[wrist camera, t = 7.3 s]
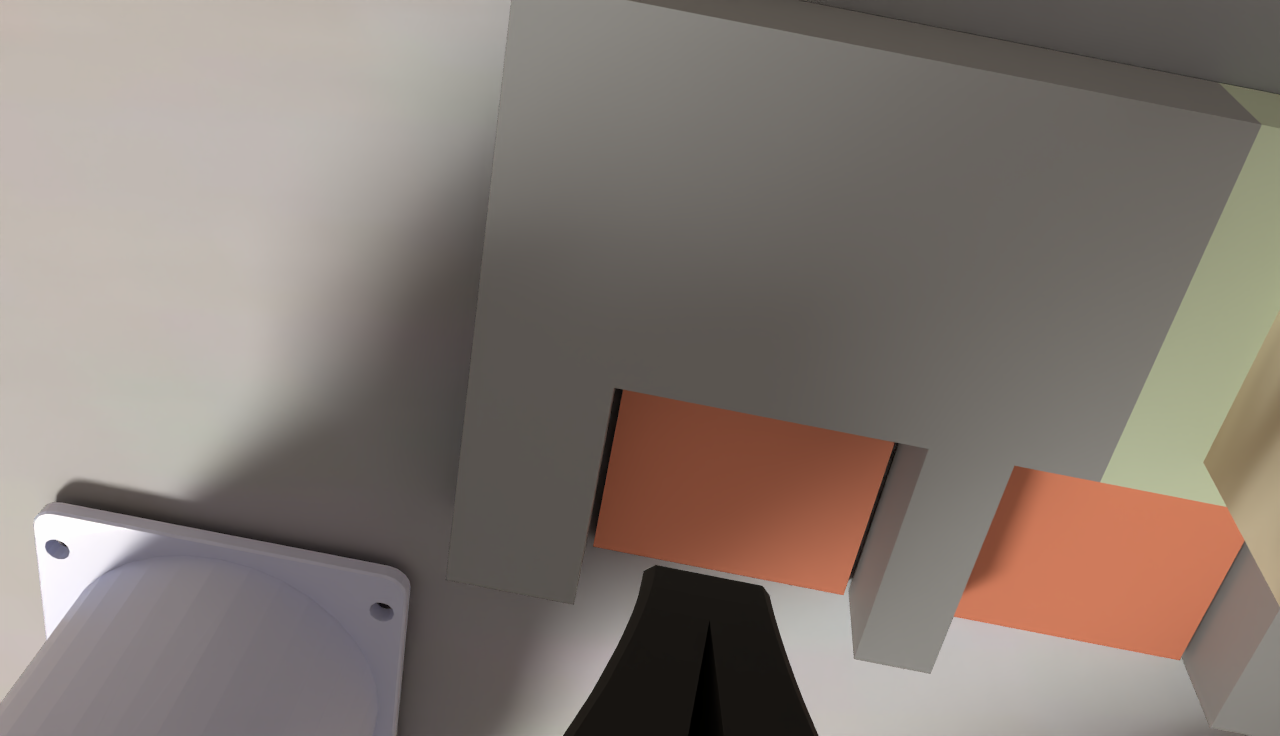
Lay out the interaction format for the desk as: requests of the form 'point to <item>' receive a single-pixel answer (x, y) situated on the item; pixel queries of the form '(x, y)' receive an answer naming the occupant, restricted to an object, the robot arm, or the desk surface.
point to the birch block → (1254, 459)
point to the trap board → (875, 327)
